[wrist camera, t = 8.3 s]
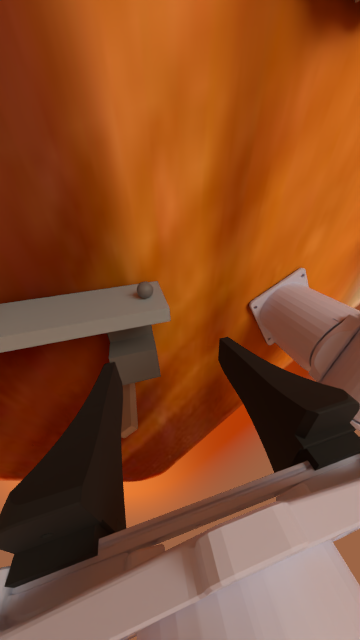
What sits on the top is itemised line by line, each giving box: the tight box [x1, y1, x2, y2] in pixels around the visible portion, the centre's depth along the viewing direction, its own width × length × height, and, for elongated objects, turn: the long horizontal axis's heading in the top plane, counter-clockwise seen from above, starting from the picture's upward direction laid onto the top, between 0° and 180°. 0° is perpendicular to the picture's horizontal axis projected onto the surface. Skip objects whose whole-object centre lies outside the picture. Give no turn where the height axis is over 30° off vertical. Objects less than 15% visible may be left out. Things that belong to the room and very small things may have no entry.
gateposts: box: [121, 383, 138, 438], centre depth 17 cm, size 23×2×7 cm, turn 38°
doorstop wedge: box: [107, 325, 161, 385], centre depth 20 cm, size 8×4×5 cm, turn 3°
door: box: [0, 281, 170, 353], centre depth 16 cm, size 14×3×6 cm, turn 93°
